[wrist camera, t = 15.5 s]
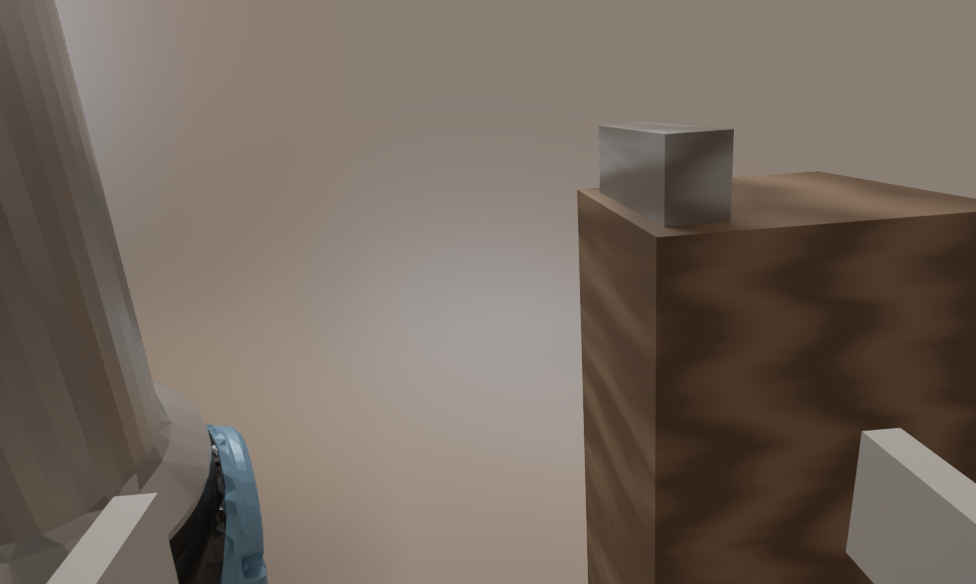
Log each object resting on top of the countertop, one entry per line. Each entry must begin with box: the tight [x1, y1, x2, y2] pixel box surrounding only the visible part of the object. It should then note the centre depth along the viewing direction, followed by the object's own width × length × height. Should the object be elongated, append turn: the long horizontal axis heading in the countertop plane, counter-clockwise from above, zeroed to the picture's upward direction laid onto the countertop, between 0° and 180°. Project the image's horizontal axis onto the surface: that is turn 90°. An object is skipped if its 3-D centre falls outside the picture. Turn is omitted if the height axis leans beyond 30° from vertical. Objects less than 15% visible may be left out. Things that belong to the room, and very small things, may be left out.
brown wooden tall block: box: [577, 122, 976, 584], centre depth 39 cm, size 16×16×34 cm
